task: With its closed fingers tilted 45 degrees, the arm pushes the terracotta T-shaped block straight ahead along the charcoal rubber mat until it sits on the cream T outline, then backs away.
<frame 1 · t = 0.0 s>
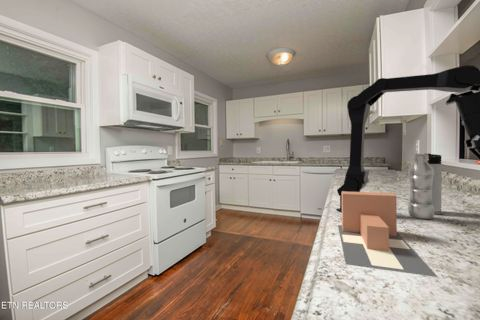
plastic bottle: (420, 218, 69), on the worktop
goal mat: (374, 245, 50), on the worktop
travel mug: (428, 212, 76), on the worktop
t block: (371, 237, 54), on the worktop, touching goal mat
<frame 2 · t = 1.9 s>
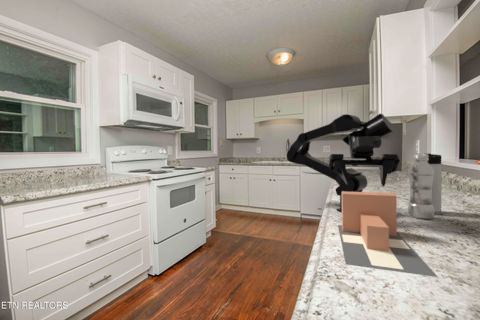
hand: (365, 184, 64), 12 cm above the worktop, tool tilted 45°, fingers open, 9 cm apart
nothing on the worktop moved.
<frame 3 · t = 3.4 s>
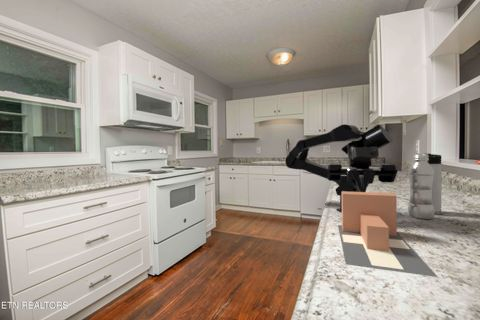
hand: (363, 195, 64), 9 cm above the worktop, tool tilted 45°, fingers closed
nothing on the worktop moved.
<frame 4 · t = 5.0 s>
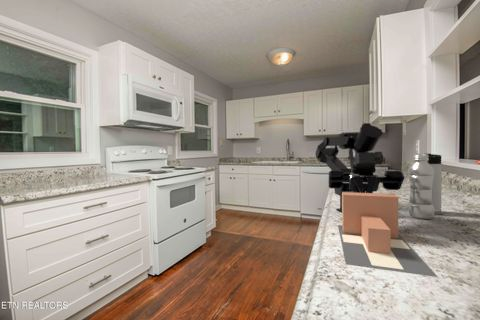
hand: (367, 204, 59), 7 cm above the worktop, tool tilted 45°, fingers closed, pressing on t block
t block: (372, 240, 53), on the worktop, touching gripper
everything else where it was.
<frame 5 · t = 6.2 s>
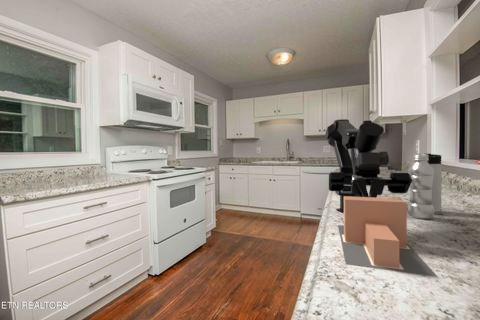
hand: (371, 209, 54), 7 cm above the worktop, tool tilted 45°, fingers closed, pressing on t block
t block: (377, 250, 47), on the worktop, touching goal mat, gripper
everything else where it was.
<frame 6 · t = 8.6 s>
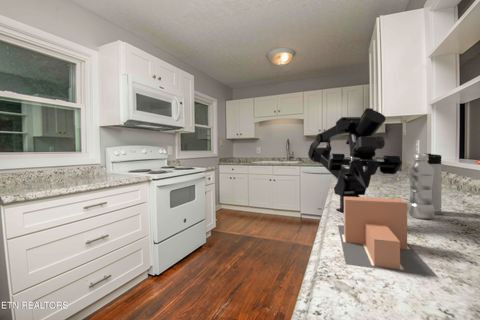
hand: (366, 186, 61), 12 cm above the worktop, tool tilted 45°, fingers closed
t block: (378, 251, 47), on the worktop, touching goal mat
everything else where it was.
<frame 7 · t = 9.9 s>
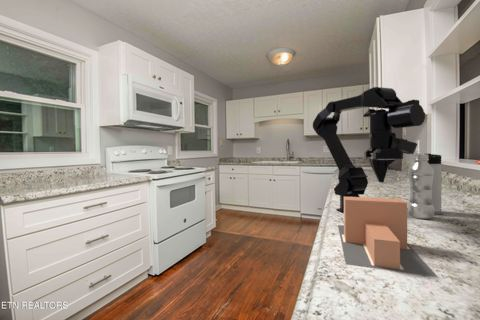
hand: (381, 182, 67), 12 cm above the worktop, tool pointing down, fingers closed
nothing on the worktop moved.
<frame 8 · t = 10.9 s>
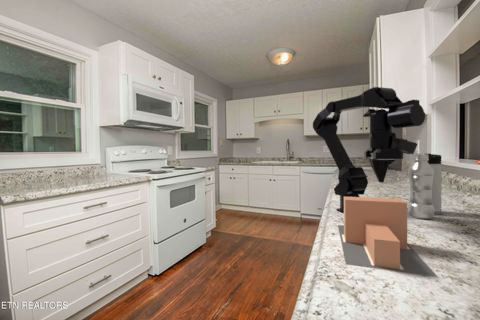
hand: (381, 182, 67), 12 cm above the worktop, tool pointing down, fingers closed
nothing on the worktop moved.
at the end: t block 0.6 cm from the target spot, on the worktop; t block tilted 0° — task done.
